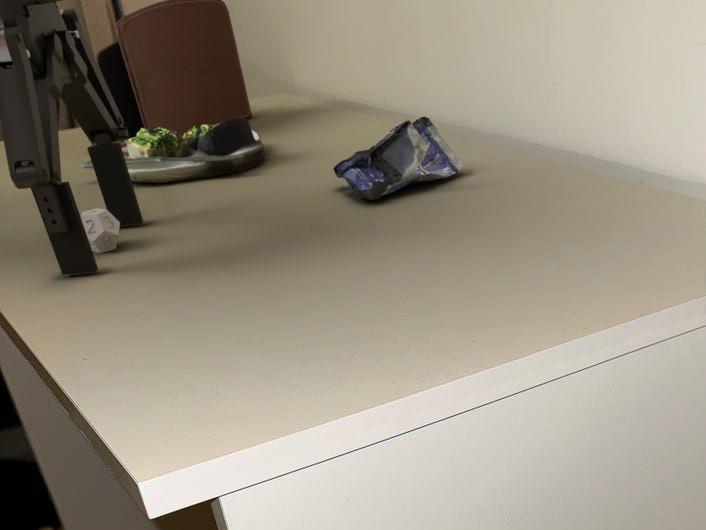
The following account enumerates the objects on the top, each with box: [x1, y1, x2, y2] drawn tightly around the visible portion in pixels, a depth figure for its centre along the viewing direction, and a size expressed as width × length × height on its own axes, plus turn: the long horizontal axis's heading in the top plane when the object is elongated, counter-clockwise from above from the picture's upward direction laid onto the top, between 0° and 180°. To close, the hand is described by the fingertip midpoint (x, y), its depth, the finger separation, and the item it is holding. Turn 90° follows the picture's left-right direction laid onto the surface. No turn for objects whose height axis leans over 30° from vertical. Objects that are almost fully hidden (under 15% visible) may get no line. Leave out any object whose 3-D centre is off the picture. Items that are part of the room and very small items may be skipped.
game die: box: [80, 207, 121, 254], centre depth 79 cm, size 4×4×3 cm
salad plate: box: [81, 118, 264, 184], centre depth 101 cm, size 19×18×5 cm
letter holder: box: [90, 0, 253, 148], centre depth 114 cm, size 10×20×14 cm, turn 155°
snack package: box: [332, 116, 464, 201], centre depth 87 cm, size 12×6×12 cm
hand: (105, 246), depth 80 cm, fingers open, 13 cm apart
